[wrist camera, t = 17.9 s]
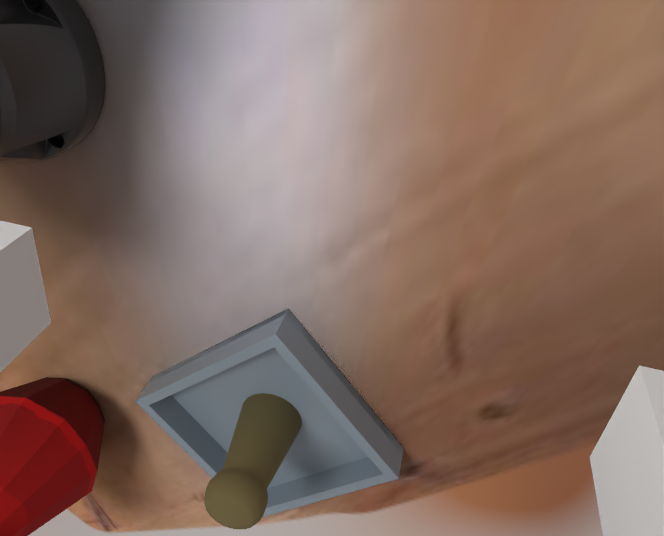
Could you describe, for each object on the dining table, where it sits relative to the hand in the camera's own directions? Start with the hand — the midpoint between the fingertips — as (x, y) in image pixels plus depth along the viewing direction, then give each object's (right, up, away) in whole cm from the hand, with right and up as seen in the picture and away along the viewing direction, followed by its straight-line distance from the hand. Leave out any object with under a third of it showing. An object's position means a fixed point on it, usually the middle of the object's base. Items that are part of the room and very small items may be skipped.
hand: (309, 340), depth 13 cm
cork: (-5, -13, +43) cm, 46 cm away
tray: (-5, -12, +44) cm, 46 cm away
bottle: (-28, -14, +52) cm, 60 cm away
